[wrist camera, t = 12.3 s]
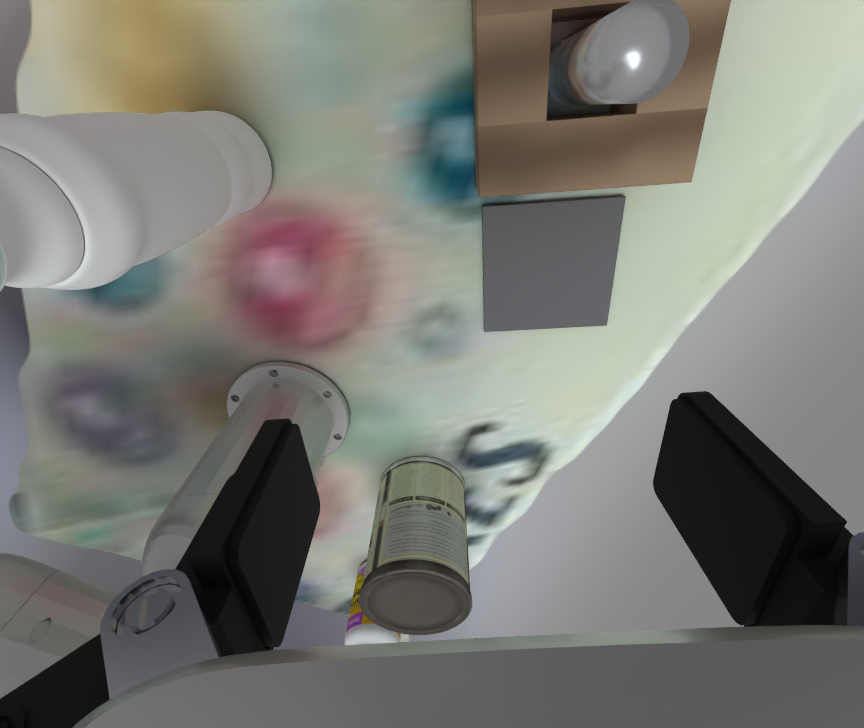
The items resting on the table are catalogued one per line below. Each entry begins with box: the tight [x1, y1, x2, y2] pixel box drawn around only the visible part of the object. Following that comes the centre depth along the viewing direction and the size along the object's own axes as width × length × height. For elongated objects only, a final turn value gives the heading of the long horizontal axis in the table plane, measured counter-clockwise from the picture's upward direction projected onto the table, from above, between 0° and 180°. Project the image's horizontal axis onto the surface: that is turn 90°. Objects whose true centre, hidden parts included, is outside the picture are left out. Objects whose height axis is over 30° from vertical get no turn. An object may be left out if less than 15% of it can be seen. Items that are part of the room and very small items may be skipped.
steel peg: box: [548, 0, 690, 105], centre depth 25 cm, size 4×4×12 cm
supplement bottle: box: [345, 562, 401, 645], centre depth 54 cm, size 7×7×13 cm
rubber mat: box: [482, 196, 626, 332], centre depth 37 cm, size 11×11×1 cm
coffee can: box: [359, 457, 472, 635], centre depth 45 cm, size 10×10×14 cm
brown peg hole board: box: [472, 0, 731, 197], centre depth 28 cm, size 14×14×5 cm
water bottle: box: [0, 111, 272, 291], centre depth 23 cm, size 7×7×25 cm
